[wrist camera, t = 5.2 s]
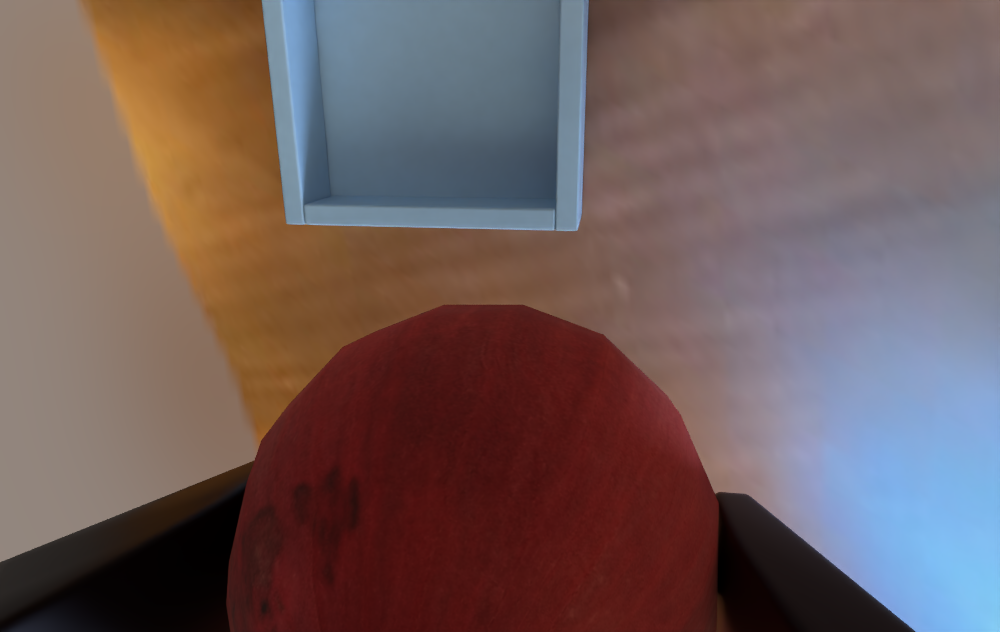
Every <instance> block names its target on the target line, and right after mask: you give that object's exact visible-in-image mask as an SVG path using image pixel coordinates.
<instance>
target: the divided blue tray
mask: <svg viewBox="0 0 1000 632" xmlns="http://www.w3.org/2000/svg"><path fill="white" fill-rule="evenodd" d="M588 6H589V0H262V8H263V17H264V26H265V35H266V44H267V53H268V62H269V71H270V81H271V90H272V99H273V108H274V117H275V126H276V135H277V144H278V153H279V163H280V172H281V181H282V190H283V199H284V208H285V217H286V223H287V224H296V225H304V224H308V225H339V226H382V227H425V228H469V229H512V230H555V229H556V230H557V231H577V229H578V226H579V223H580V219H581V216H582V190H583V160H584V129H585V98H586V68H587V37H588Z"/></svg>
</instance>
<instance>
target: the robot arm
mask: <svg viewBox="0 0 1000 632" xmlns="http://www.w3.org/2000/svg"><path fill="white" fill-rule="evenodd" d="M253 464H254V461H252V462H250V463H247V464H245V465H242V466H240V467H237V468H235V469H232V470H230V471H228V472H225V473H222V474H220V475H217V476H215V477H212V478H210V479H207V480H205V481H202V482H200V483H197V484H195V485H192V486H190V487H187V488H185V489H182V490H180V491H177V492H175V493H172V494H170V495H167V496H165V497H162V498H160V499H157V500H155V501H152V502H150V503H147V504H145V505H142V506H140V507H137V508H135V509H132V510H130V511H127V512H125V513H122V514H120V515H117V516H115V517H112V518H110V519H107V520H105V521H102V522H100V523H98V524H95V525H92V526H90V527H87V528H85V529H82V530H80V531H77V532H75V533H72V534H70V535H68V536H65V537H62V538H60V539H57V540H55V541H52V542H50V543H47V544H45V545H42V546H40V547H37V548H35V549H32V550H30V551H27V552H25V553H22V554H20V555H17V556H15V557H13V558H10V559H7V560H5V561H2V562H0V632H230V626H229V619H228V613H227V606H226V599H227V584H228V568H229V559H230V555H231V550H232V546H233V542H234V537H235V533H236V528H237V524H238V519H239V515H240V511H241V506H242V502H243V497H244V493H245V489H246V484H247V481H248V478H249V475H250V472H251V469H252V466H253ZM715 496H716V498H717V500H718V503H719V526H718V598H717V630H716V632H915V631H914V630H913V629H912V628H910V627H909V626H908V625H907V624H906V623H904V622H903V621H902V620H901V619H899V618H898V617H897V616H896V615H895V614H893V613H892V612H891V611H890V610H888V609H887V608H886V607H885V606H884V605H882V604H881V603H880V602H879V601H877V600H876V599H875V598H874V597H873V596H871V595H870V594H869V593H868V592H866V591H865V590H864V589H863V588H862V587H860V586H859V585H858V584H857V583H855V582H854V581H853V580H852V579H851V578H849V577H848V576H847V575H846V574H844V573H843V572H842V571H841V570H840V569H838V568H837V567H836V566H835V565H834V564H832V563H831V562H830V561H829V560H827V559H826V558H825V557H824V556H823V555H821V554H820V553H819V552H818V551H816V550H815V549H814V548H813V547H812V546H810V545H809V544H808V543H807V542H805V541H804V540H803V539H802V538H801V537H799V536H798V535H797V534H796V533H794V532H793V531H792V530H791V529H790V528H788V527H787V526H786V525H785V524H783V523H782V522H781V521H780V520H779V519H777V518H776V517H775V516H774V515H772V514H771V513H770V512H769V511H768V510H766V509H765V508H764V507H763V506H761V505H760V504H759V503H758V502H757V501H755V500H754V499H753V498H752V497H750V496H749V495H746V494H739V493H726V492H719V493H716V494H715Z"/></svg>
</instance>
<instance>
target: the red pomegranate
mask: <svg viewBox="0 0 1000 632" xmlns="http://www.w3.org/2000/svg"><path fill="white" fill-rule="evenodd" d="M718 526H719V503H718V500H717V498H716V496H715V493H714V491H713V489H712V486H711V484H710V482H709V479H708V477H707V475H706V473H705V470H704V468H703V466H702V463H701V461H700V459H699V456H698V454H697V452H696V449H695V447H694V445H693V442H692V440H691V438H690V435H689V433H688V431H687V428H686V426H685V424H684V422H683V419H682V417H681V415H680V414H679V412H678V411H677V409H676V408H675V406H674V405H673V403H672V402H671V400H670V399H669V398H668V396H667V395H666V394H665V393H664V392H663V391H662V390H661V389H660V388H659V387H658V386H657V385H656V384H655V383H654V382H653V381H651V380H650V379H649V378H648V377H647V376H646V375H645V374H644V373H643V372H642V371H641V370H640V369H639V368H638V367H637V366H636V365H635V364H634V363H633V362H632V361H631V360H629V359H628V358H627V357H626V356H625V355H624V354H623V353H622V352H621V351H620V350H619V349H618V348H617V347H616V346H615V345H614V344H613V343H612V342H611V341H610V340H608V339H607V338H606V337H605V336H604V335H603V334H600V333H597V332H595V331H592V330H589V329H587V328H584V327H581V326H579V325H576V324H573V323H570V322H568V321H565V320H562V319H560V318H557V317H554V316H552V315H549V314H546V313H544V312H541V311H538V310H536V309H533V308H530V307H528V306H525V305H443V306H440V307H437V308H435V309H432V310H430V311H427V312H424V313H422V314H419V315H417V316H414V317H412V318H409V319H406V320H404V321H401V322H399V323H396V324H393V325H391V326H388V327H386V328H383V329H381V330H378V331H376V332H373V333H371V334H369V335H367V336H365V337H363V338H361V339H359V340H357V341H355V342H352V343H350V344H348V345H346V346H344V347H342V348H341V349H340V351H339V352H338V353H337V354H336V355H335V356H334V357H333V358H332V359H331V360H330V361H329V362H328V363H327V364H326V365H325V367H324V368H323V369H322V370H321V371H320V372H319V373H318V374H317V375H316V376H315V377H314V378H313V379H312V380H311V382H310V383H309V384H308V385H307V386H306V387H305V388H304V389H303V390H302V391H301V392H300V393H299V394H298V395H297V396H296V398H295V399H294V400H293V401H292V402H291V403H290V404H289V405H288V406H287V408H286V409H285V410H284V412H283V413H282V414H281V416H280V417H279V418H278V420H277V421H276V422H275V423H274V425H273V426H272V427H271V429H270V430H269V431H268V433H267V434H266V435H265V437H264V438H263V439H262V441H261V444H260V446H259V449H258V452H257V455H256V458H255V461H254V464H253V466H252V469H251V472H250V475H249V478H248V481H247V484H246V489H245V493H244V497H243V502H242V506H241V511H240V515H239V519H238V524H237V528H236V533H235V537H234V542H233V546H232V550H231V555H230V559H229V568H228V584H227V599H226V606H227V613H228V619H229V626H230V632H716V630H717V598H718Z"/></svg>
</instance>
